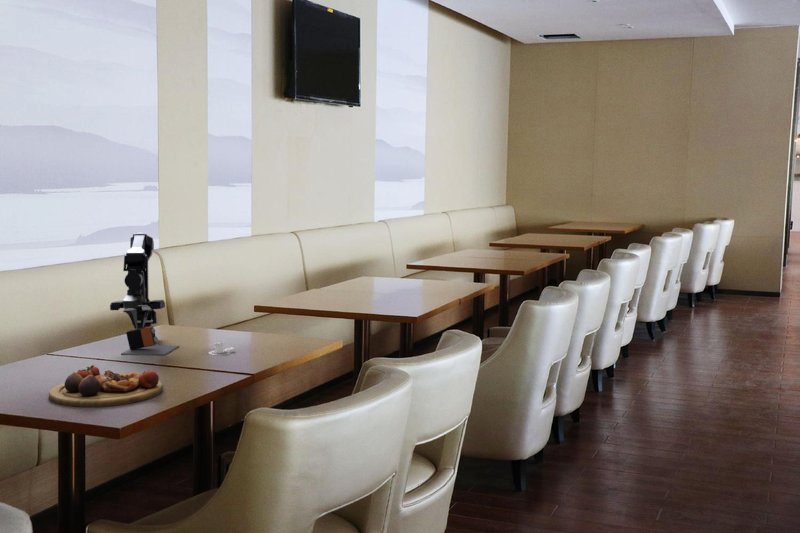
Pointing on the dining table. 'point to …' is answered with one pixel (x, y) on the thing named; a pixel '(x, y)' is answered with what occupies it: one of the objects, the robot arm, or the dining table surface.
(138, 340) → the battery
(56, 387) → the wooden plate with food
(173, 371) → the dining table surface
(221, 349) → the teacup and saucer
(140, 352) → the mat
